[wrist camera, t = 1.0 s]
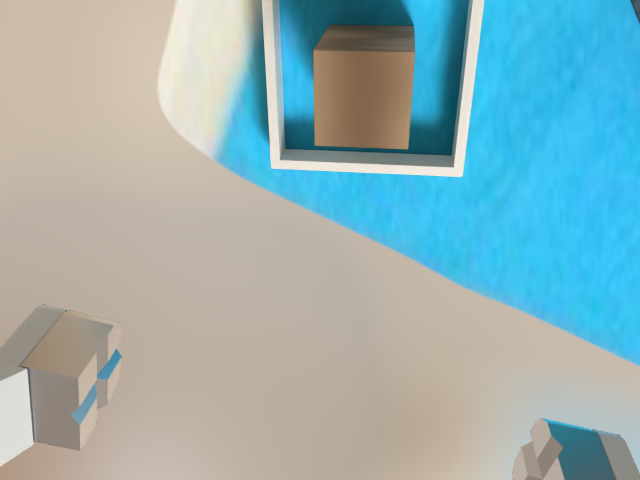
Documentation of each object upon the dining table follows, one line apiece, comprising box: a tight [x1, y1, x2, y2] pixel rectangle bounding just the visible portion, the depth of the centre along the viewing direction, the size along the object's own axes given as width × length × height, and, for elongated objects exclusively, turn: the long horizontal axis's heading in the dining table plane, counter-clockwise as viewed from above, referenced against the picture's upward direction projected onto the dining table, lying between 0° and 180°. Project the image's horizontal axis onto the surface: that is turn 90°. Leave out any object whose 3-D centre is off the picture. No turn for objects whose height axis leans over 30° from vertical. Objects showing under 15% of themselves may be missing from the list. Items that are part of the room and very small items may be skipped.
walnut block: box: [313, 25, 415, 149], centre depth 33 cm, size 5×5×7 cm
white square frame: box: [262, 0, 484, 177], centre depth 35 cm, size 12×12×2 cm
